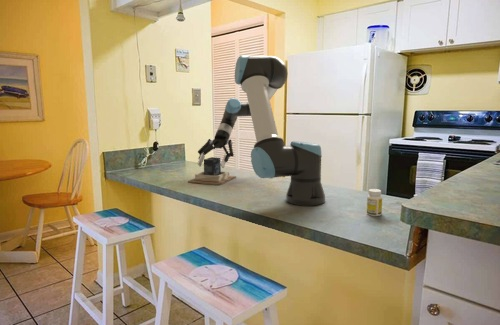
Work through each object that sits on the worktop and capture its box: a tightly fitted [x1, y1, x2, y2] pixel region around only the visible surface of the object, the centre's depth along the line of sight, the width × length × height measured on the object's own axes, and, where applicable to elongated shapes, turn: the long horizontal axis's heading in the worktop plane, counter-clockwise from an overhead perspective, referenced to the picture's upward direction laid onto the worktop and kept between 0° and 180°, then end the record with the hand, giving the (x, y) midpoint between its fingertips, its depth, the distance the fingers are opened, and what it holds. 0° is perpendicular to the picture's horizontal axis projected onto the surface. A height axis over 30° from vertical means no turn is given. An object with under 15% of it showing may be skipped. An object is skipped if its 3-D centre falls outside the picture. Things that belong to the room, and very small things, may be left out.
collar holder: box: [187, 171, 237, 186], centre depth 171 cm, size 18×18×4 cm
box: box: [203, 156, 222, 176], centre depth 170 cm, size 8×6×11 cm
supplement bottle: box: [366, 188, 383, 217], centre depth 113 cm, size 5×5×8 cm
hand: (210, 165), depth 168 cm, fingers open, 13 cm apart
